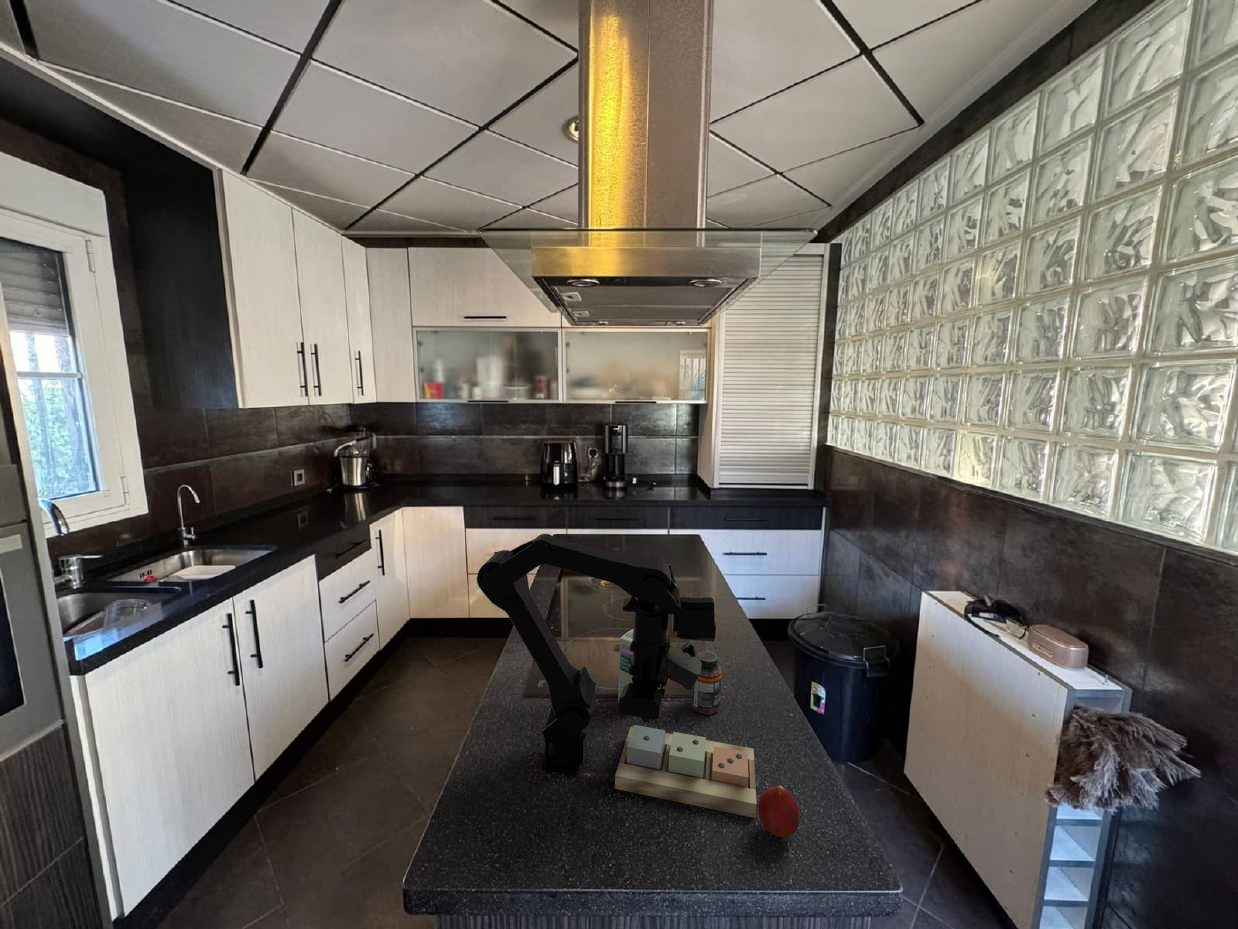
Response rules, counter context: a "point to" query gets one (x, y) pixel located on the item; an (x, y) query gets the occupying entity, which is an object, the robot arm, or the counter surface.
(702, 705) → the supplement bottle
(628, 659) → the syrup box
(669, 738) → the tile tray
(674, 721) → the counter surface
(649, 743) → the single dot cube
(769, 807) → the onion
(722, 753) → the tile three pip
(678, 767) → the tile two pip
